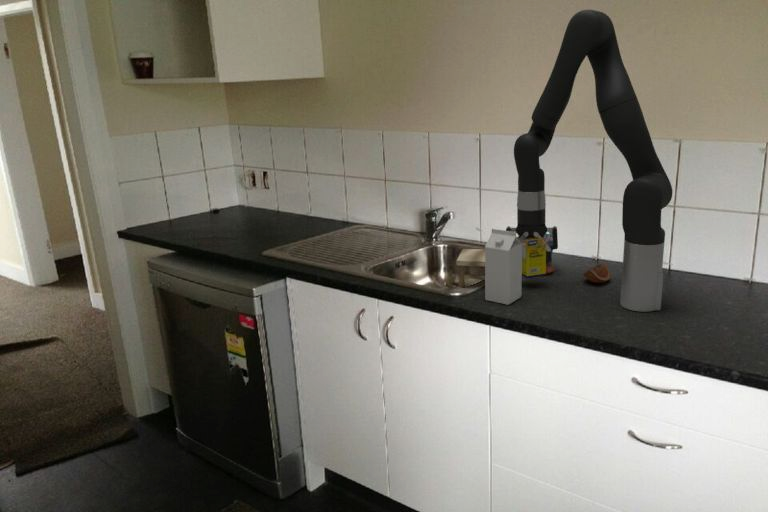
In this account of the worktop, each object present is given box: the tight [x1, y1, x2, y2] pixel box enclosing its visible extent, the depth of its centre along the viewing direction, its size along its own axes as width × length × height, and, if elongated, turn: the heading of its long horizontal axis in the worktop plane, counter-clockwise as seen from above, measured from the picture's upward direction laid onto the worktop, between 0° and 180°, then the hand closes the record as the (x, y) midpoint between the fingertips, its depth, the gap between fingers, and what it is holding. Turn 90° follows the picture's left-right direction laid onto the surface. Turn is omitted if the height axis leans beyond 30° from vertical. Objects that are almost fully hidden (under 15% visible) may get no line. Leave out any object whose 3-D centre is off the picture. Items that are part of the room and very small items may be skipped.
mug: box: [544, 233, 556, 274], centre depth 193 cm, size 12×9×11 cm
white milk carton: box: [484, 228, 523, 306], centre depth 170 cm, size 7×7×19 cm
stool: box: [456, 248, 485, 288], centre depth 186 cm, size 12×12×8 cm
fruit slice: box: [582, 262, 611, 284], centre depth 181 cm, size 8×7×5 cm
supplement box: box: [516, 236, 547, 279], centre depth 179 cm, size 6×6×11 cm
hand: (531, 263), depth 180 cm, fingers closed on supplement box, 8 cm apart
